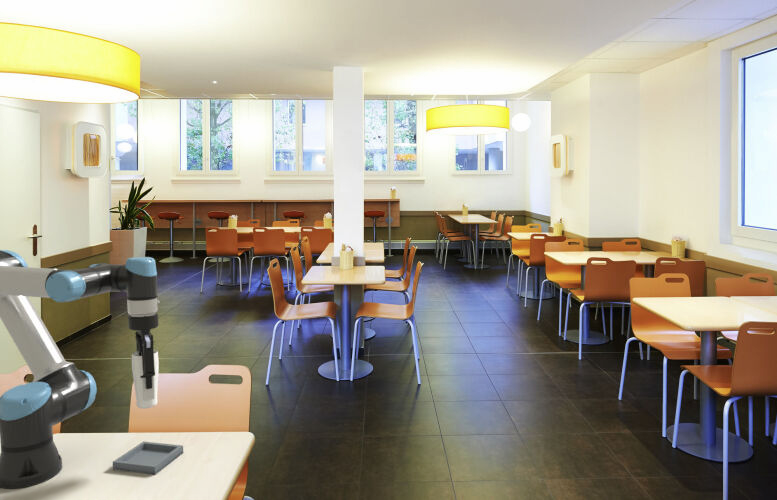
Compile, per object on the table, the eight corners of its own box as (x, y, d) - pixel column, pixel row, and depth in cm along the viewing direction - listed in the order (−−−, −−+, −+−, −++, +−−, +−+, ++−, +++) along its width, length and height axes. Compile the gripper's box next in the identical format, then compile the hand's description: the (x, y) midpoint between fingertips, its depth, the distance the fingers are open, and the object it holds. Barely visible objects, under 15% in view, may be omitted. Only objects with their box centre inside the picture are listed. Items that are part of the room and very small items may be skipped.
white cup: (150, 411, 149) (148, 356, 148) (128, 409, 150) (125, 355, 149) (165, 402, 156) (163, 350, 154) (144, 400, 157) (141, 349, 156)
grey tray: (112, 469, 150) (112, 461, 149) (143, 448, 162) (143, 441, 162) (155, 474, 147) (154, 466, 147) (183, 452, 159) (183, 445, 159)
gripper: (164, 318, 145) (168, 403, 147) (151, 306, 161) (154, 383, 163) (133, 321, 141) (137, 409, 143) (123, 309, 157) (127, 388, 159)
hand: (146, 395), depth 153 cm, fingers closed on white cup, 6 cm apart
